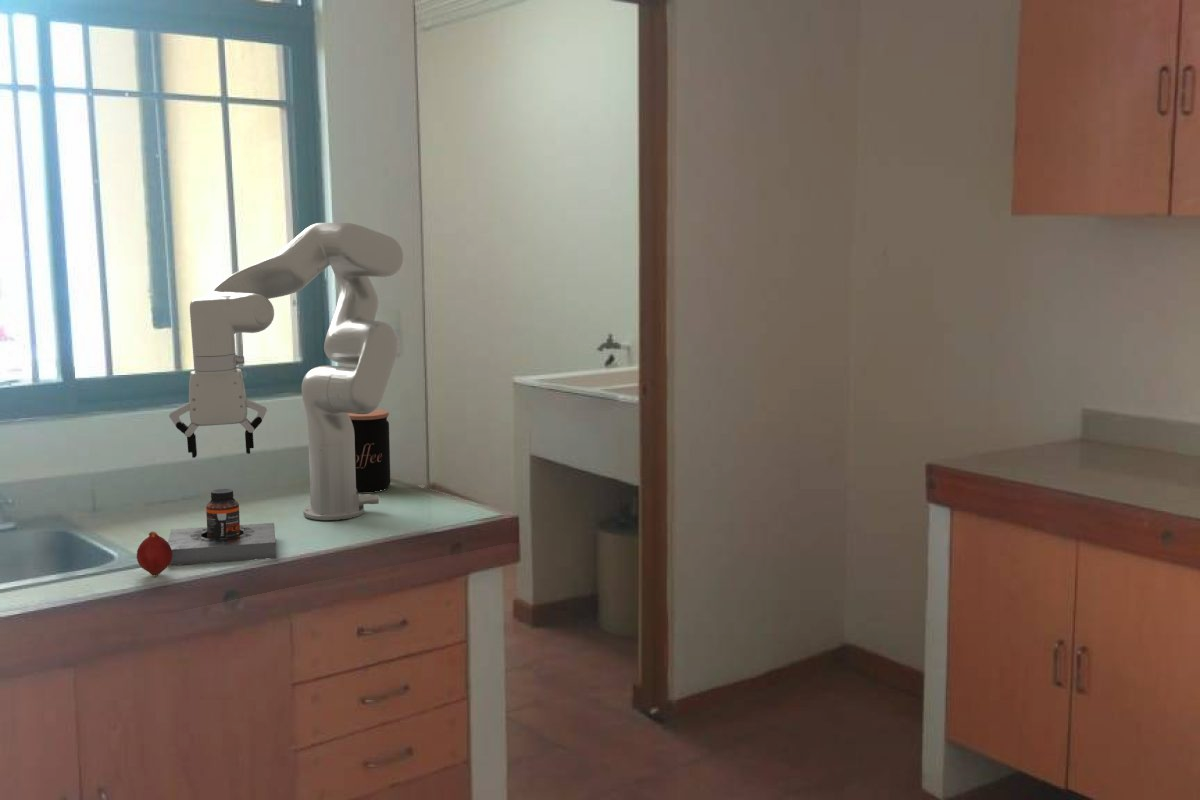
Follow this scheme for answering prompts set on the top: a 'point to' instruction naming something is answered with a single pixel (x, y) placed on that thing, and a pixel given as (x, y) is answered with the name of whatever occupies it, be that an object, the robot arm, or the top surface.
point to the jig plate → (222, 545)
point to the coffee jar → (371, 450)
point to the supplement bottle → (222, 515)
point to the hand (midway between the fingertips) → (221, 454)
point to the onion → (154, 554)
